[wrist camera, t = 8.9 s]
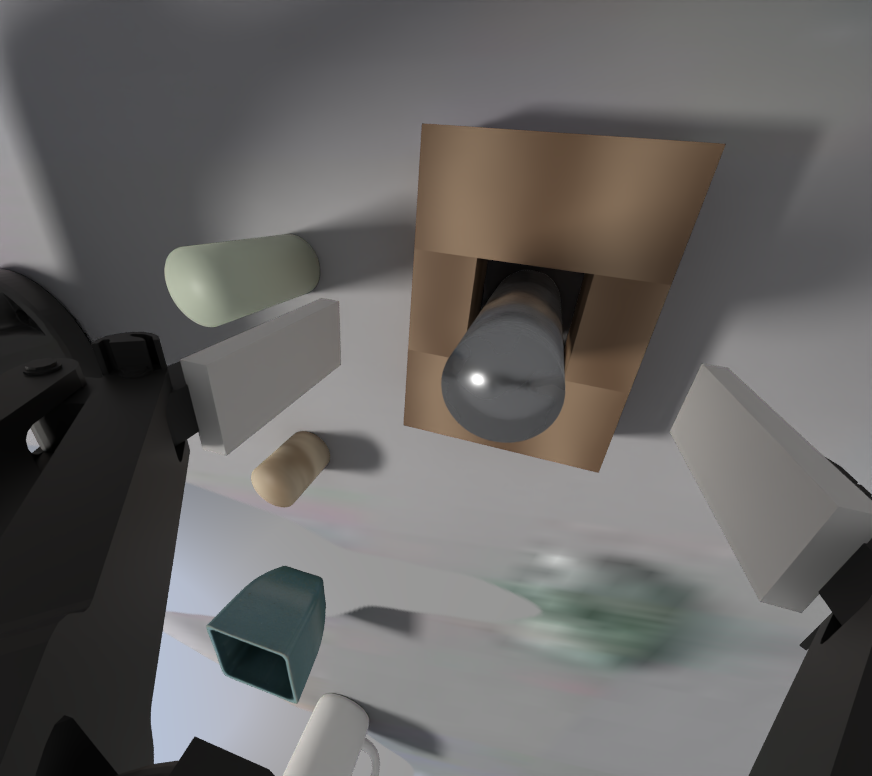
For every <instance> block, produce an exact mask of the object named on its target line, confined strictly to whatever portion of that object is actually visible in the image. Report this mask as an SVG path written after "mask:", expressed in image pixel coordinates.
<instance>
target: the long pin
mask: <svg viewBox="0 0 872 776" xmlns="http://www.w3.org/2000/svg"><path fill="white" fill-rule="evenodd" d="M441 389H442V395H443V399H444V402H445V404H446V407H447V408H448V410H449V412H450V413H451V415H452V416H453V418H454V419H455V420H456V421H457V422H458V423H459V424H460V425H461V426H462V427H463V428H465V429H466V430H467V431H469V432H470V433H472V434H474V435H476V436H478V437H481V438H483V439H486V440H489V441H494V442H502V443H513V442H520V441H524V440H528V439H530V438H533V437H535V436H537V435H539V434H541V433H542V432H544V431H545V430H546V429H548V428H549V427H550V426H551V425H552V424H553V422H554V421H555V420H556V419H557V417H558V415H559V414H560V412H561V409H562V407H563V404H564V399H565V371H564V351H563V332H562V312H561V296H560V292H559V289H558V287H557V285H556V284H555V282H554V281H553V280H552V279H551V278H550V277H549V276H547V275H546V274H544V273H542V272H539V271H536V270H520V271H517V272H514V273H512V274H510V275H509V276H507V277H506V278H505V279H504V280H503V281H502V282H501V283H500V284H499V286H498V287H497V288H496V290H495V291H494V293H493V294H492V296H491V297H490V299H489V300H488V302H487V303H486V304H485V306H484V307H483V309H482V310H481V312H480V313H479V315H478V316H477V317H476V319H475V320H474V322H473V323H472V325H471V326H470V328H469V329H468V331H467V332H466V333H465V335H464V336H463V338H462V339H461V341H460V342H459V344H458V345H457V347H456V348H455V349H454V351H453V352H452V354H451V355H450V357H449V358H448V360H447V362H446V364H445V366H444V369H443V373H442V378H441Z"/></svg>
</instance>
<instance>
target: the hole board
mask: <svg viewBox="0 0 872 776" xmlns="http://www.w3.org/2000/svg"><path fill="white" fill-rule="evenodd" d="M725 145H726V144H719V143H705V142H690V141H675V140H660V139H645V138H630V137H615V136H601V135H586V134H571V133H556V132H541V131H526V130H511V129H497V128H482V127H467V126H452V125H437V124H422V131H421V148H420V164H419V181H418V197H417V213H416V230H415V246H414V263H413V279H412V296H411V312H410V328H409V345H408V361H407V378H406V394H405V410H404V425H405V426H409V427H414V428H418V429H422V430H426V431H430V432H434V433H438V434H442V435H446V436H450V437H454V438H459V439H463V440H467V441H471V442H475V443H479V444H483V445H487V446H491V447H495V448H500V449H504V450H508V451H512V452H516V453H520V454H524V455H528V456H532V457H536V458H540V459H545V460H549V461H553V462H557V463H561V464H565V465H569V466H573V467H577V468H581V469H585V470H590V471H594V472H598V473H599V470H600V468H601V465H602V463H603V460H604V457H605V455H606V452H607V450H608V447H609V444H610V442H611V439H612V437H613V434H614V431H615V429H616V426H617V424H618V421H619V419H620V416H621V413H622V411H623V408H624V406H625V403H626V400H627V398H628V395H629V393H630V390H631V388H632V385H633V382H634V380H635V377H636V375H637V372H638V369H639V367H640V364H641V362H642V359H643V357H644V354H645V351H646V349H647V346H648V344H649V341H650V338H651V336H652V333H653V331H654V328H655V326H656V323H657V320H658V318H659V315H660V313H661V310H662V307H663V305H664V302H665V300H666V297H667V294H668V292H669V289H670V287H671V284H672V282H673V279H674V276H675V274H676V271H677V269H678V266H679V263H680V261H681V258H682V256H683V253H684V251H685V248H686V245H687V243H688V240H689V238H690V235H691V232H692V230H693V227H694V225H695V222H696V220H697V217H698V214H699V212H700V209H701V207H702V204H703V201H704V199H705V196H706V194H707V191H708V189H709V186H710V183H711V181H712V178H713V176H714V173H715V170H716V168H717V165H718V163H719V160H720V157H721V155H722V152H723V150H724V147H725ZM488 259H489V260H496V261H503V262H510V263H517V264H524V265H531V266H539V267H546V268H553V269H560V270H567V271H574V272H581V273H585V274H584V278H583V282H582V285H581V289H580V292H579V296H578V300H577V303H576V307H575V311H574V314H573V318H572V322H571V325H570V329H569V333H568V336H567V340H566V344H565V347H564V371H565V399H564V404H563V407H562V409H561V412H560V414H559V415H558V417H557V419H556V420H555V421H554V422H553V424H552V425H551V426H550V427H549V428H548V429H546V430H545V431H544V432H542V433H541V434H539V435H537V436H535V437H533V438H530V439H528V440H524V441H520V442H513V443H502V442H494V441H489V440H486V439H483V438H481V437H478V436H476V435H474V434H472V433H470V432H469V431H467V430H466V429H465V428H463V427H462V426H461V425H460V424H459V423H458V422H457V421H456V420H455V419H454V418H453V416H452V415H451V413H450V412H449V410H448V408H447V407H446V404H445V402H444V399H443V395H442V389H441V378H442V373H443V369H444V366H445V364H446V362H447V360H448V358H449V357H450V355H451V354H452V352H453V351H454V349H455V348H456V347H457V345H458V344H459V342H460V341H461V339H462V338H463V336H464V335H465V333H466V332H467V331H468V329H469V328H470V326H471V325H472V323H473V322H474V320H475V319H476V317H477V316H478V315H479V313H480V309H481V302H482V295H483V289H484V282H485V276H486V269H487V262H488Z"/></svg>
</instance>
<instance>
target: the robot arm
mask: <svg viewBox="0 0 872 776" xmlns="http://www.w3.org/2000/svg"><path fill="white" fill-rule="evenodd" d="M91 345H92V347H93V349H92V347H91ZM91 345H90V343H89V341H88V339H87V338H86V336H85V335H84V333H83V331H82V330H81V328H80V327H79V326H78V324H77V323H76V322H75V320H74V319H73V318H72V317H71V315H70V314H69V313H68V312H67V311H66V310H65V308H64V307H63V306H62V305H61V304H60V303H59V302H58V301H57V300H56V299H55V298H54V297H53V296H51V295H50V294H49V293H48V292H47V291H45V290H44V289H43V288H42V287H40V286H39V285H38V284H36V283H35V282H33V281H31V280H30V279H28V278H26V277H24V276H22V275H20V274H18V273H16V272H13V271H10V270H5V269H0V776H275V775H273V773H272V772H271V771H270V770H269V769H267V768H264V767H262V766H260V765H258V764H256V763H253V762H251V761H249V760H246V759H244V758H242V757H240V756H237V755H235V754H233V753H231V752H228V751H226V750H224V749H222V748H220V747H217V746H215V745H213V744H210V743H208V742H206V741H204V740H202V739H199V738H197V737H194V739H193V740H192V741H191V743H190V745H189V746H188V748H187V749H186V751H185V752H184V754H183V755H182V757H181V758H180V760H179V761H172V762H165V763H158V764H154V747H153V738H152V730H151V704H152V697H153V690H154V684H155V677H156V670H157V664H158V657H159V651H160V644H161V638H162V631H163V625H164V618H165V612H166V605H167V598H168V592H169V585H170V578H171V571H172V566H173V559H174V552H175V545H176V539H177V532H178V526H179V519H180V513H181V506H182V500H183V493H184V486H185V480H186V474H187V467H188V461H189V454H190V449H189V445H188V441H187V439H188V438H190V437H191V436H193V435H194V434H196V433H197V432H199V436H200V440H201V444H202V448H203V450H207V451H210V452H214V453H218V454H221V455H225V456H227V455H228V454H229V453H231V452H232V451H233V450H234V449H236V448H237V447H238V446H239V445H241V444H242V443H243V442H244V441H246V440H247V439H248V438H249V437H251V436H252V435H253V434H254V433H256V432H257V431H258V430H259V429H261V428H262V427H263V426H264V425H266V424H267V423H268V422H269V421H271V420H272V419H273V418H274V417H276V416H277V415H278V414H279V413H281V412H282V411H283V410H284V409H286V408H287V407H288V406H289V405H291V404H292V403H293V402H294V401H296V400H297V399H298V398H299V397H301V396H302V395H303V394H305V393H306V392H307V391H308V390H310V389H311V388H312V387H313V386H315V385H316V384H317V383H318V382H320V381H321V380H322V379H323V378H325V377H326V376H327V375H328V374H330V373H331V372H332V371H333V370H335V369H336V368H337V367H338V366H340V365H341V348H340V317H339V301H335V300H329V299H323V298H321V299H318V300H316V301H314V302H311V303H309V304H307V305H305V306H302V307H300V308H298V309H295V310H293V311H291V312H288V313H286V314H284V315H282V316H279V317H277V318H275V319H272V320H270V321H268V322H265V323H263V324H261V325H259V326H256V327H254V328H252V329H249V330H247V331H245V332H242V333H240V334H238V335H235V336H233V337H231V338H229V339H226V340H224V341H222V342H219V343H217V344H215V345H212V346H210V347H208V348H206V349H203V350H201V351H199V352H196V353H194V354H192V355H189V356H187V357H185V358H183V359H180V361H179V362H177V363H175V364H173V365H170V366H168V367H167V365H166V362H165V358H164V354H163V351H162V347H161V343H160V340H159V336H157V335H155V334H153V333H146V332H129V333H119V334H114V335H110V336H106V337H103V338H100V339H97V340H96V341H94V342H93V343H91ZM93 350H94V351H93ZM102 374H103V376H102ZM30 428H31V430H32V432H33V434H34V436H35V438H36V440H37V442H38V444H39V445H40V447H39V448H38V449H36V450H35V451H34V452H33V453H31V452H30V451H29V450H28V447H27V443H26V437H27V432H28V430H29V429H30ZM670 433H671V435H672V437H673V439H674V441H675V443H676V445H677V447H678V449H679V450H680V452H681V454H682V456H683V458H684V460H685V462H686V464H687V465H688V467H689V469H690V471H691V473H692V475H693V477H694V479H695V480H696V482H697V484H698V486H699V488H700V490H701V492H702V494H703V495H704V497H705V499H706V501H707V503H708V505H709V507H710V509H711V510H712V512H713V514H714V516H715V518H716V520H717V522H718V524H719V526H720V527H721V529H722V531H723V533H724V535H725V537H726V539H727V541H728V542H729V544H730V546H731V548H732V550H733V552H734V554H735V556H736V557H737V559H738V561H739V563H740V565H741V567H742V569H743V571H744V572H745V574H746V576H747V578H748V580H749V582H750V584H751V586H752V588H753V589H754V591H755V593H756V595H757V597H758V599H759V601H760V602H763V603H767V604H771V605H774V606H778V607H782V608H785V609H789V610H793V611H796V612H800V613H802V612H803V611H804V610H805V609H806V608H807V607H808V606H809V604H810V603H811V602H812V601H813V600H814V599H815V598H816V597H817V596H818V595H819V594H820V595H821V597H822V598H823V599H824V601H825V602H826V604H827V605H828V607H829V608H830V610H831V611H832V613H831V614H830V615H829V616H828V617H827V618H826V619H825V620H824V621H823V622H822V623H821V624H820V625H819V626H818V627H817V628H816V629H815V630H814V631H813V632H812V633H811V634H810V635H809V636H808V637H807V638H806V639H805V640H804V641H803V642H802V643H801V644H800V646H801V647H802V648H804V649H805V650H807V649H809V650H808V652H807V654H806V656H805V658H804V660H803V662H802V664H801V666H800V669H799V671H798V673H797V675H796V677H795V679H794V681H793V683H792V685H791V687H790V690H789V692H788V694H787V696H786V698H785V700H784V702H783V704H782V706H781V708H780V711H779V713H778V715H777V717H776V719H775V721H774V723H773V725H772V727H771V730H770V732H769V734H768V736H767V738H766V740H765V742H764V744H763V746H762V748H761V751H760V753H759V755H758V757H757V759H756V761H755V763H754V765H753V767H752V770H751V772H750V774H749V776H872V497H871V495H872V494H871V493H869V492H868V491H867V490H866V489H865V488H864V487H863V486H862V485H859V484H857V483H858V482H857V481H856V480H855V479H854V478H853V477H852V476H851V475H850V474H848V473H847V472H846V471H845V470H844V469H843V468H842V467H841V466H839V465H837V464H836V463H834V462H832V461H831V460H829V459H828V458H826V457H824V456H823V455H822V454H821V453H820V452H819V451H818V450H816V449H815V448H814V447H813V446H812V445H811V444H810V443H809V442H808V441H807V440H806V439H805V438H803V437H802V436H801V435H800V434H799V433H798V432H797V431H796V430H795V429H794V428H793V427H791V426H790V425H789V424H788V423H787V422H786V421H785V420H784V419H783V418H782V417H781V416H780V415H778V414H777V413H776V412H775V411H774V410H773V409H772V408H771V407H770V406H769V405H768V404H767V403H765V402H764V401H763V400H762V399H761V398H760V397H759V396H758V395H757V394H756V393H755V392H754V391H752V390H751V389H750V388H749V387H748V386H747V385H746V384H745V383H744V382H743V381H742V380H741V379H739V378H738V377H737V376H736V375H735V374H734V373H733V372H732V371H731V370H730V369H729V368H726V367H720V366H714V365H709V364H703V363H702V365H701V367H700V369H699V371H698V373H697V375H696V377H695V380H694V382H693V384H692V386H691V388H690V390H689V392H688V394H687V397H686V399H685V401H684V403H683V405H682V407H681V409H680V411H679V413H678V416H677V418H676V420H675V422H674V424H673V426H672V428H671V430H670Z"/></svg>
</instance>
